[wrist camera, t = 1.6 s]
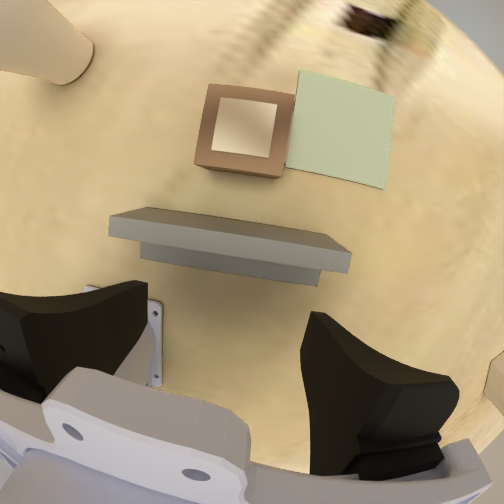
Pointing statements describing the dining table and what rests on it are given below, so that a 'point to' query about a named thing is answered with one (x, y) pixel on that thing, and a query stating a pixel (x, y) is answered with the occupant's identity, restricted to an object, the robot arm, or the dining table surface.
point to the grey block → (231, 245)
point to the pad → (341, 130)
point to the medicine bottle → (496, 383)
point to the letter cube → (245, 131)
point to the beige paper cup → (41, 42)
